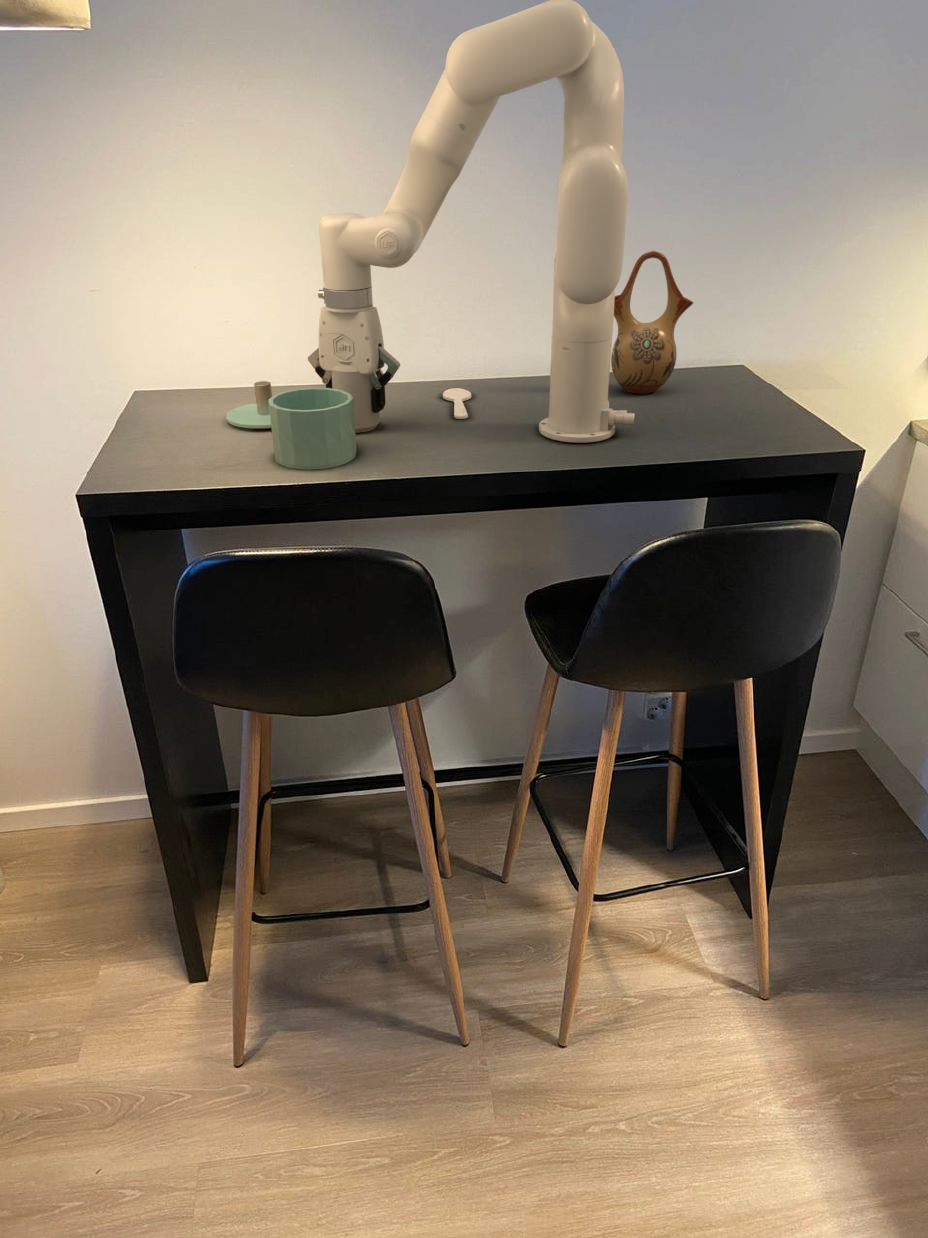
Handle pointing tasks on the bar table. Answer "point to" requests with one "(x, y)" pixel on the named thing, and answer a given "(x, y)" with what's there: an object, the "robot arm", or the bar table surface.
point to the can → (356, 394)
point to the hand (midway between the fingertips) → (356, 407)
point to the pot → (313, 428)
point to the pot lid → (253, 409)
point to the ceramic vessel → (646, 336)
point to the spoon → (458, 401)
